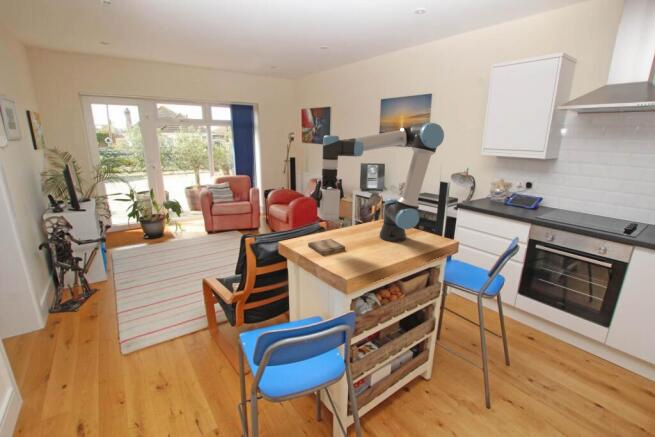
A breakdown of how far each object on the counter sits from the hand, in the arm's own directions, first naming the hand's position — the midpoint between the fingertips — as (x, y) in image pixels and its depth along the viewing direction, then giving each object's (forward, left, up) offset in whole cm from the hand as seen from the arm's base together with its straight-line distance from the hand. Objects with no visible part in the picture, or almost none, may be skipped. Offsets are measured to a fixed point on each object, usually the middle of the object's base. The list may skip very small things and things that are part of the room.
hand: (328, 212), depth 156 cm
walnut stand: (+1, 0, -19) cm, 19 cm away
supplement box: (0, 0, -3) cm, 3 cm away
